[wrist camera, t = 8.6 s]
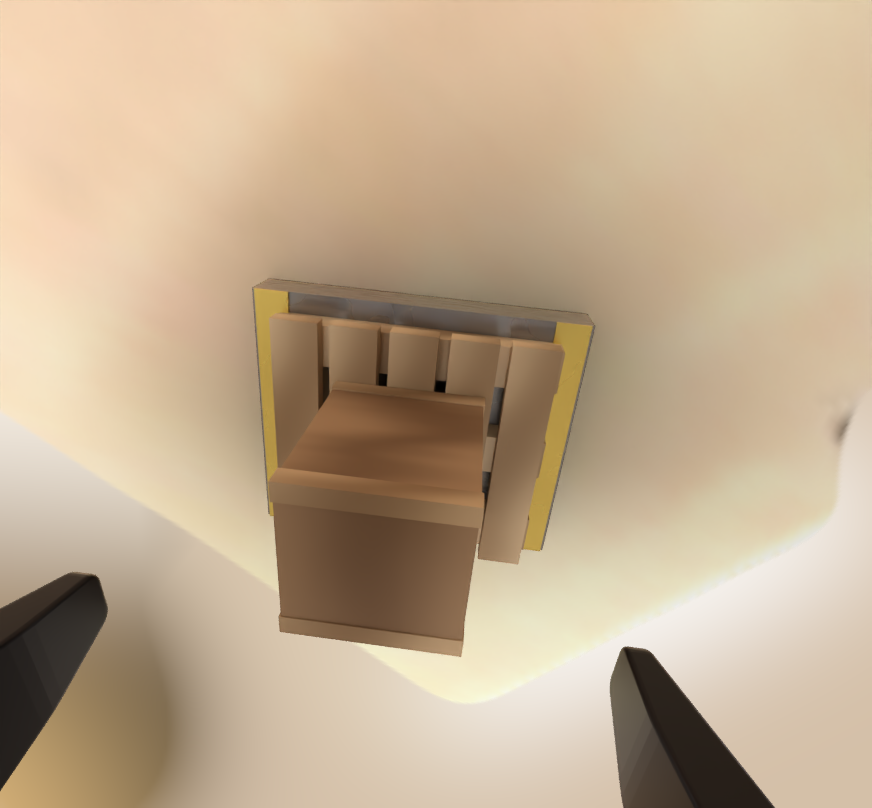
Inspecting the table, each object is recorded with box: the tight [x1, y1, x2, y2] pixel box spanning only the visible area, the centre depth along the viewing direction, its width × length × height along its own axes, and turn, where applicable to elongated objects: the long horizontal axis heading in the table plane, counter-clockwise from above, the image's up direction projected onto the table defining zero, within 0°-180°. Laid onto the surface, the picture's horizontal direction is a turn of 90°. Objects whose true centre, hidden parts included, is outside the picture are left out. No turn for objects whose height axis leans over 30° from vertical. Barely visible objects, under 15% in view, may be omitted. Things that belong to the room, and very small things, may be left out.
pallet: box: [269, 312, 565, 564], centre depth 19 cm, size 10×9×2 cm
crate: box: [268, 381, 485, 657], centre depth 16 cm, size 5×5×6 cm
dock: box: [252, 279, 595, 551], centre depth 20 cm, size 12×10×2 cm
